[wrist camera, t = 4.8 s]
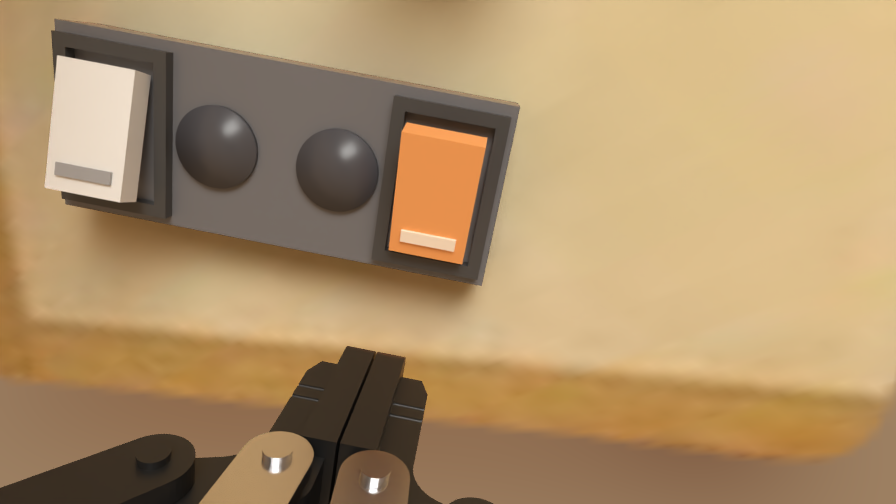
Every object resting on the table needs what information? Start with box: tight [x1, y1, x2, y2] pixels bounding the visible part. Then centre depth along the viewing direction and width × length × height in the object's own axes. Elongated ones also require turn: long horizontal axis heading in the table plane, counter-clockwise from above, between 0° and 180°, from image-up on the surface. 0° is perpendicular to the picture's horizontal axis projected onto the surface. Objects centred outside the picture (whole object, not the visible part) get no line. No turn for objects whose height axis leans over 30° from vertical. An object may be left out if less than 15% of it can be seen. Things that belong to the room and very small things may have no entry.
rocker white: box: [45, 55, 151, 203], centre depth 25 cm, size 6×4×1 cm, turn 170°
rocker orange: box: [389, 122, 487, 264], centre depth 25 cm, size 6×4×1 cm, turn 170°
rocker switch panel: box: [51, 19, 520, 286], centre depth 27 cm, size 9×22×4 cm, turn 80°
